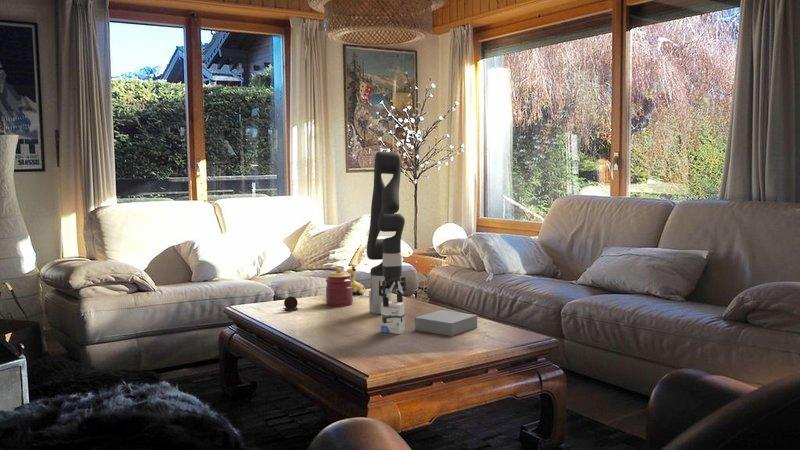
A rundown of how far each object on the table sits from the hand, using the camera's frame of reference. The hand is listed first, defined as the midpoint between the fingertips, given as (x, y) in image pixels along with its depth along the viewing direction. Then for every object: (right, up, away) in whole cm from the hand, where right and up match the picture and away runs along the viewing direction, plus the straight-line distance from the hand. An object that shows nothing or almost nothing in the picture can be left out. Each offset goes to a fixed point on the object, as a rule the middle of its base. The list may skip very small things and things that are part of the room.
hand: (392, 304), depth 276 cm
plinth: (+21, -10, +6) cm, 24 cm away
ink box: (0, -11, +1) cm, 11 cm away
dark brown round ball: (-49, -8, +47) cm, 68 cm away
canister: (-26, -7, +59) cm, 65 cm away
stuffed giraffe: (-19, -5, +83) cm, 85 cm away
